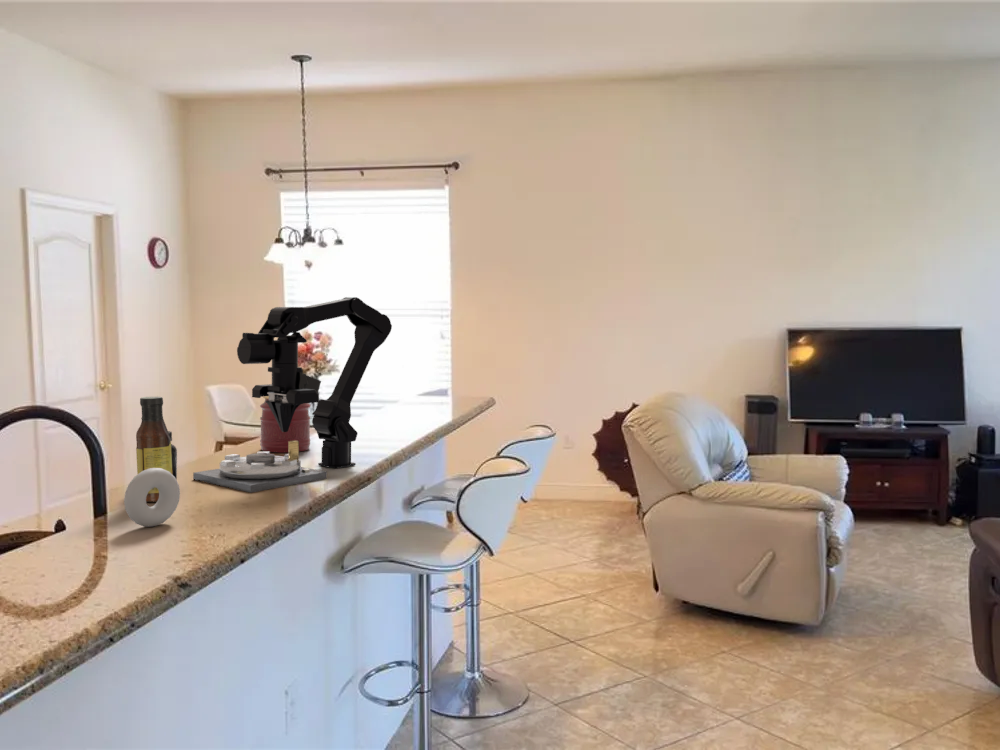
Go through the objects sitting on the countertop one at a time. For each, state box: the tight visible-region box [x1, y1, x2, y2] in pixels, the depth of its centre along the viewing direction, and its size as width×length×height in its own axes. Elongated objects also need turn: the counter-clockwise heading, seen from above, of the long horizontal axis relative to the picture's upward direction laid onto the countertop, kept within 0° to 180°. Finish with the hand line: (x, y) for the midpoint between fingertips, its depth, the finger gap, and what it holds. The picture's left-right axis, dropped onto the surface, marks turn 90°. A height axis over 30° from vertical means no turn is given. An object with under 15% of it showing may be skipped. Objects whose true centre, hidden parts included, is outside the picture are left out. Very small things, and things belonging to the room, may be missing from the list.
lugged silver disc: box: [219, 441, 302, 479], centre depth 184 cm, size 17×17×6 cm
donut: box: [123, 468, 181, 528], centre depth 142 cm, size 10×4×10 cm, turn 148°
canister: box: [259, 396, 311, 454], centre depth 223 cm, size 13×13×18 cm
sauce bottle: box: [135, 396, 172, 503], centre depth 161 cm, size 6×6×20 cm
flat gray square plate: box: [192, 466, 328, 494], centre depth 184 cm, size 20×20×2 cm
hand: (284, 431), depth 191 cm, fingers closed
